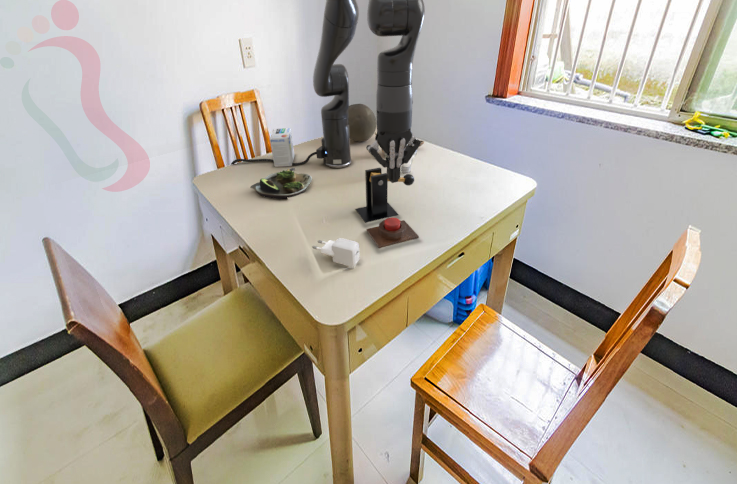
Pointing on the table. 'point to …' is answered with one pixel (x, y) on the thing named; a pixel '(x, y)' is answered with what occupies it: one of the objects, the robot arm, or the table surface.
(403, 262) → the table surface
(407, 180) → the lever
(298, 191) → the salad plate
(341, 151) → the robot arm
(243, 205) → the table surface
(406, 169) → the light bulb
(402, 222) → the button block
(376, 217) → the switch bracket
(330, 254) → the power adapter
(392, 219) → the button
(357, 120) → the cantaloupe
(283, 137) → the light bulb box
